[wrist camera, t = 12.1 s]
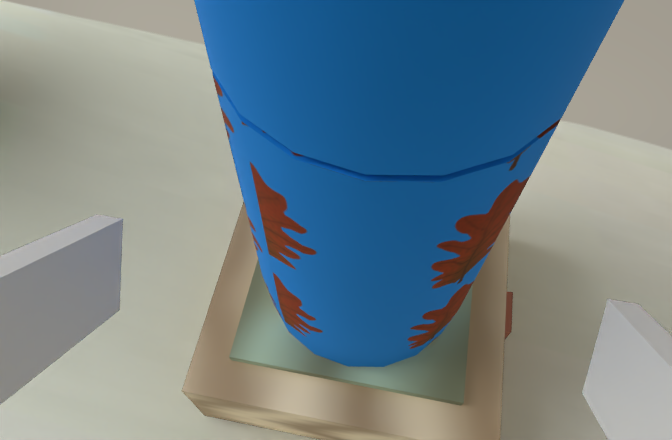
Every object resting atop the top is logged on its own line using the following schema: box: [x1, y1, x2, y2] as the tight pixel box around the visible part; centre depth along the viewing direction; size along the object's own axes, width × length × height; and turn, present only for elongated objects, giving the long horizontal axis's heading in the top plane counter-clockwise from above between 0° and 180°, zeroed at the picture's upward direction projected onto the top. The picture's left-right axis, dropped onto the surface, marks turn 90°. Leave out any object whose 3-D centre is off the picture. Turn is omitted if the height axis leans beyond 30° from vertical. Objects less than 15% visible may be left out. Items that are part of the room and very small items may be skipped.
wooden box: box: [182, 202, 513, 440], centre depth 34 cm, size 17×16×7 cm
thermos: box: [194, 0, 624, 367], centre depth 20 cm, size 11×11×25 cm
